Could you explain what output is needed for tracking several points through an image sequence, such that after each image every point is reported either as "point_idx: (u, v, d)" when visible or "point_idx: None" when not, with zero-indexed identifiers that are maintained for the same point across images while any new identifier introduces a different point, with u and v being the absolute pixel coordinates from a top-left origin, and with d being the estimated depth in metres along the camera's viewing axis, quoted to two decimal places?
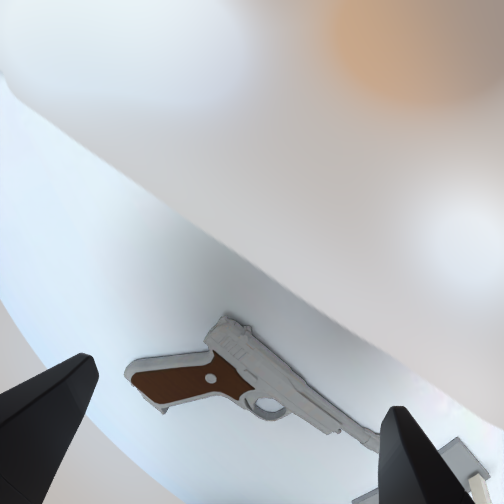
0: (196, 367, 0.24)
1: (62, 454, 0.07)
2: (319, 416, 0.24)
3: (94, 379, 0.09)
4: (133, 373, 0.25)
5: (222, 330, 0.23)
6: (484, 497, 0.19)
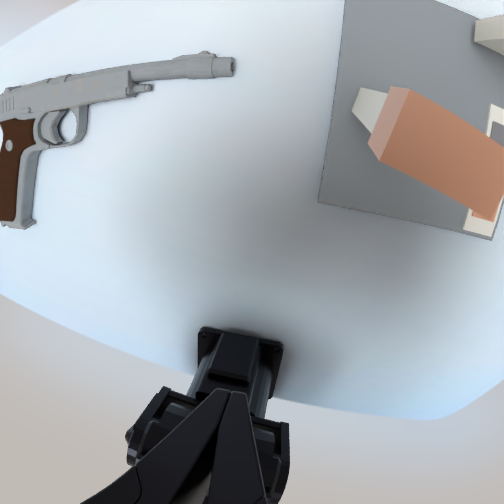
0: (1, 148, 0.19)
1: None
2: (95, 84, 0.16)
3: None
4: None
5: None
6: None
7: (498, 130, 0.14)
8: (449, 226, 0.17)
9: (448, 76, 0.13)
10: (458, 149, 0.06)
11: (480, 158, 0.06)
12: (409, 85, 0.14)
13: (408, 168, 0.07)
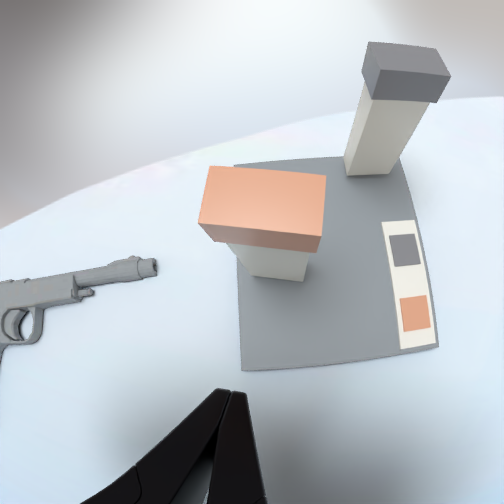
0: None
1: None
2: (48, 286, 0.20)
3: None
4: None
5: None
6: (353, 127, 0.17)
7: (398, 241, 0.19)
8: (385, 353, 0.17)
9: (334, 217, 0.20)
10: (261, 191, 0.09)
11: (284, 189, 0.09)
12: None
13: (223, 221, 0.09)
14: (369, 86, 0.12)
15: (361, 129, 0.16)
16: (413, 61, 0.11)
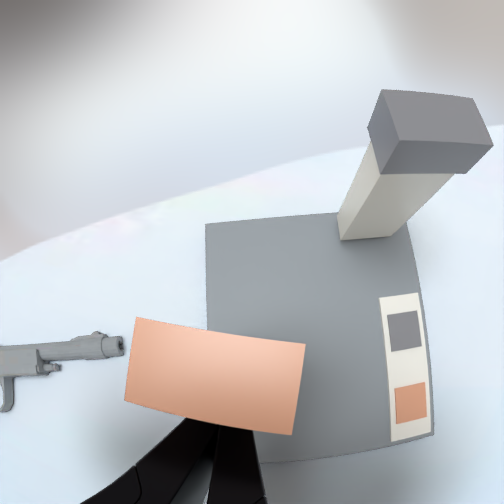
0: None
1: None
2: (13, 358, 0.16)
3: None
4: None
5: None
6: (351, 190, 0.14)
7: (397, 321, 0.16)
8: (373, 445, 0.14)
9: (323, 292, 0.17)
10: (206, 366, 0.06)
11: (241, 366, 0.06)
12: (282, 321, 0.17)
13: (156, 403, 0.06)
14: (378, 155, 0.09)
15: (361, 199, 0.12)
16: (445, 122, 0.08)
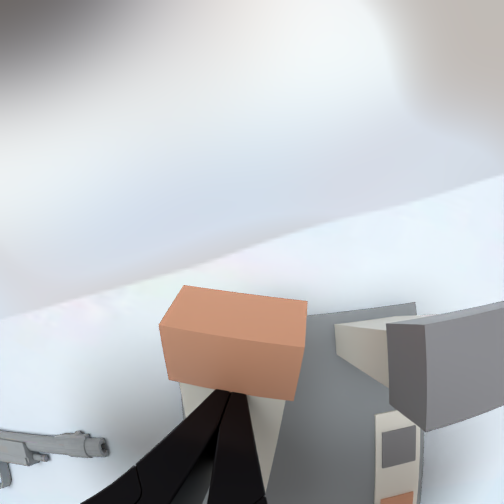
0: None
1: None
2: (3, 447, 0.13)
3: None
4: None
5: None
6: None
7: (392, 437, 0.13)
8: None
9: (312, 410, 0.14)
10: (235, 308, 0.08)
11: (261, 308, 0.08)
12: None
13: (188, 327, 0.07)
14: (393, 384, 0.06)
15: (363, 365, 0.09)
16: None
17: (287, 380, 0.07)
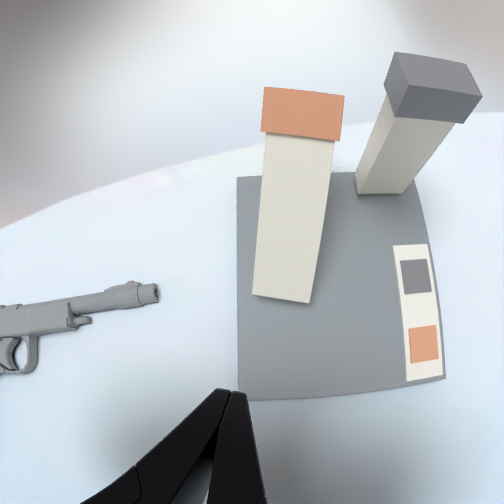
0: None
1: None
2: (41, 313, 0.18)
3: None
4: None
5: None
6: (369, 144, 0.16)
7: (409, 267, 0.18)
8: (390, 385, 0.16)
9: (342, 238, 0.19)
10: None
11: None
12: None
13: (281, 89, 0.13)
14: (393, 102, 0.11)
15: (378, 147, 0.14)
16: (443, 77, 0.09)
17: (335, 121, 0.13)
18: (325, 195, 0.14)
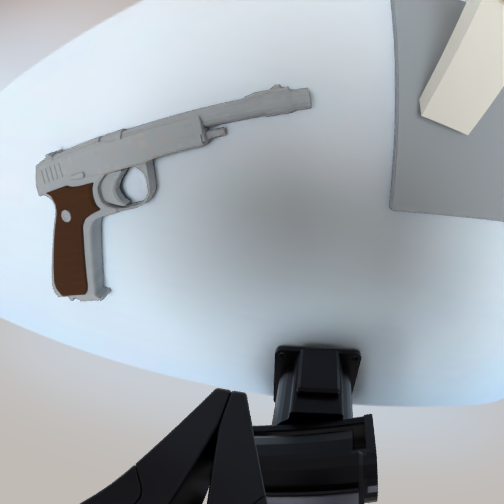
0: (55, 220, 0.21)
1: None
2: (162, 136, 0.17)
3: None
4: (54, 284, 0.23)
5: (36, 172, 0.19)
6: None
7: None
8: None
9: None
10: None
11: None
12: None
13: None
14: None
15: None
16: None
17: None
18: None
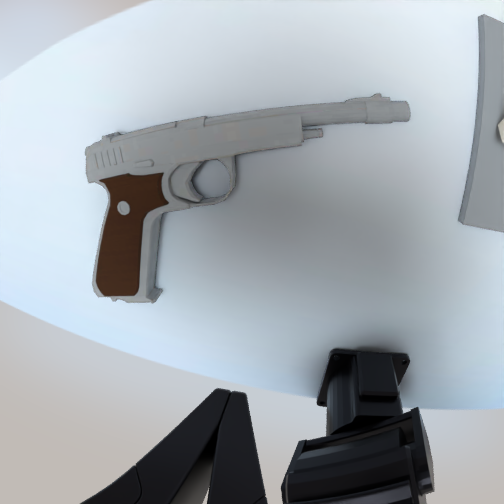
0: (108, 212, 0.19)
1: None
2: (257, 129, 0.16)
3: None
4: (95, 283, 0.22)
5: (88, 155, 0.18)
6: None
7: None
8: None
9: None
10: None
11: None
12: None
13: None
14: None
15: None
16: None
17: None
18: None
